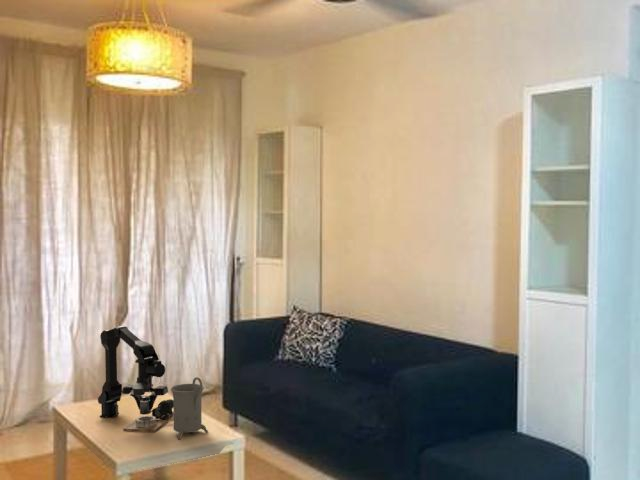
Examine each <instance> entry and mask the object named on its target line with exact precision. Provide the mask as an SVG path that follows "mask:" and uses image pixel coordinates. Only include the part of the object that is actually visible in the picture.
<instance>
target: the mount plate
mask: <svg viewBox="0 0 640 480" xmlns="http://www.w3.org/2000/svg"><path fill="white" fill-rule="evenodd" d="M167 423H168V419H167V420H161V419H156V417H154V416H152V415H141V416H138V417H136V418H135V420H133V421H132V422H131V423H129V424H128V425H126V426H125V427H123V432H140V433H142V432H143V433H157V431H158V430H159V429H161V428H162V427H164V426H165V425H166V424H167Z"/></svg>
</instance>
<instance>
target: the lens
mask: <svg viewBox="0 0 640 480" xmlns="http://www.w3.org/2000/svg"><path fill="white" fill-rule="evenodd" d="M149 396H150V395H141V397H140V410H139V414H140V415H141V416H147V415H149V414H152V412H151V411H152V410H150V397H149Z"/></svg>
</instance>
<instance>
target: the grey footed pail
mask: <svg viewBox="0 0 640 480" xmlns="http://www.w3.org/2000/svg"><path fill="white" fill-rule="evenodd" d="M196 381H198V383H199V384H197V383H196ZM204 389H205V386H204V385H203V382H202V379H201V378H200V377H198V376H195V377H193V379H192V383H182V384H177V385H174V386H171V388H170V391H171V393H172V400H173V401H174V407H173V431H175V432H177V433H178V438H177V439H178V440H179V441H180V440H181V438H182V436H183V434H184V433H187V434H188V433H194V432H198V431H199V430H203V431H204V432H205V433H208V431H209V430H208V429H207V427H206V425H205V424H203V423H202V396H203V391H204Z"/></svg>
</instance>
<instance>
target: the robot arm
mask: <svg viewBox="0 0 640 480" xmlns="http://www.w3.org/2000/svg"><path fill="white" fill-rule="evenodd" d="M99 338H100V343H101V345H102V347H103V348H104V355H105V356H104V357H105V359H104V362H105V365H104V366H105V382H104V383H103V385H102V387H101V392H100V395H99V396H98V398H97V403H98V404H99V405H101V415H99V417H100V418H114V417H116V416H118V415H119V414H120V412H119V404H118V402H121V399H122V396H123V395H129V396H130V397H132V398H133V399H134V400H135V402H136V405H137V408H138V410H139V411H140V397H141V396H145V394H146V393H151V394H150V395H148V396H149V397H150V410H151V411H152V410H153V407H154V404H155V403H156V399H157V397H158V396H165V395H166V394H167V393H169V388H168V386H167V385H157V386H156V387H154V383H153V378H154V377H155V378H162V377H163V376H164V375H165V373H166V366H165V365H164V364H163V363H162V360H160V358H159V355H158V354H157V352H156V349H155V347H154V346H153V344H151V343H150V342H148V341H143V340H141V339H140V338H138V336H136V335H135V334H134V333H133V332H132V331H130V329H128V327H127V326H126V325H121V326H115V327H114V328H111V329H106V330H102V331H101V333H100V335H99ZM121 340H122V341H123V342H124V343H125V344H127V346H129V347H130V349H132V350H133V355H135V357H136V358H137V359H136V360H135V361H134V362H135V363H136V364H138V365H137V371H138V373H137V375H138V376H137V378H136V383H134V384H127V385H124V386H123V384H122V383H120V382H119V380H118V364H117V363H118V361H117V360H118V358H117V357H118V356H117V355H118V354H117V349H118V347H119V345H120V343H121ZM122 394H123V395H122Z"/></svg>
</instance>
